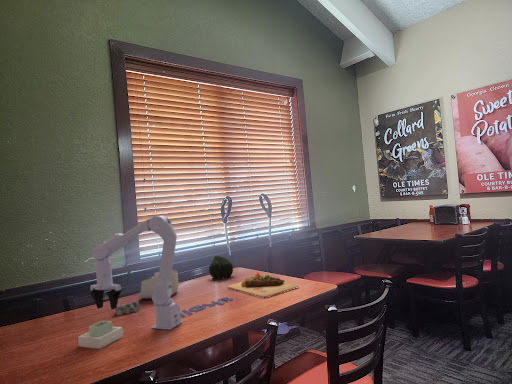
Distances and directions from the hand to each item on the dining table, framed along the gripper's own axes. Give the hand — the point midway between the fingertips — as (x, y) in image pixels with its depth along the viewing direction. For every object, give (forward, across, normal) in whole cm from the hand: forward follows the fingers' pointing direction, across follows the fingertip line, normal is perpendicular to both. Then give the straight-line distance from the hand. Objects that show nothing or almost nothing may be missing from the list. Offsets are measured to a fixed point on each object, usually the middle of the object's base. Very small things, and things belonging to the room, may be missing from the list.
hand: (107, 308), depth 134 cm
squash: (+10, +1, +88) cm, 89 cm away
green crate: (+9, +5, -8) cm, 13 cm away
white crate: (+9, +5, -8) cm, 13 cm away
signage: (+10, +24, +34) cm, 43 cm away
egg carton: (+10, -13, +23) cm, 28 cm away
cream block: (+10, -15, +49) cm, 52 cm away
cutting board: (+10, +38, +67) cm, 78 cm away
